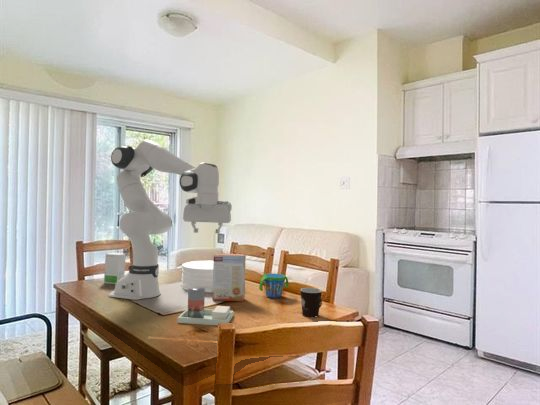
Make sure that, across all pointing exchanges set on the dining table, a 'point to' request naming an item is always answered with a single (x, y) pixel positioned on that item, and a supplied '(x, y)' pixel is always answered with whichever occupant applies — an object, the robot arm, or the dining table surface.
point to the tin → (196, 302)
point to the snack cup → (273, 284)
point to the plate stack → (198, 275)
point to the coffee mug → (310, 301)
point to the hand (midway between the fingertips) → (206, 233)
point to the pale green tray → (206, 320)
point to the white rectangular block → (221, 312)
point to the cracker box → (229, 277)
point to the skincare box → (114, 267)
